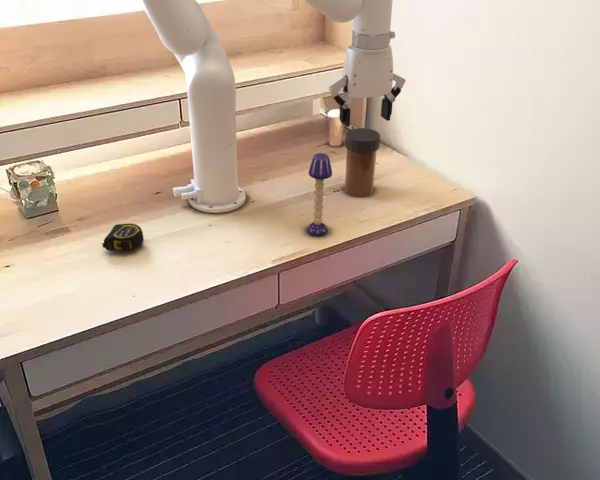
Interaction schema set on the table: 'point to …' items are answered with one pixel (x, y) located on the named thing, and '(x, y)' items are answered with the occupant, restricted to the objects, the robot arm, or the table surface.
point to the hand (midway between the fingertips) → (365, 121)
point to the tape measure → (124, 238)
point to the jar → (360, 173)
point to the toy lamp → (319, 191)
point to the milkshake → (335, 127)
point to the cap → (362, 140)
